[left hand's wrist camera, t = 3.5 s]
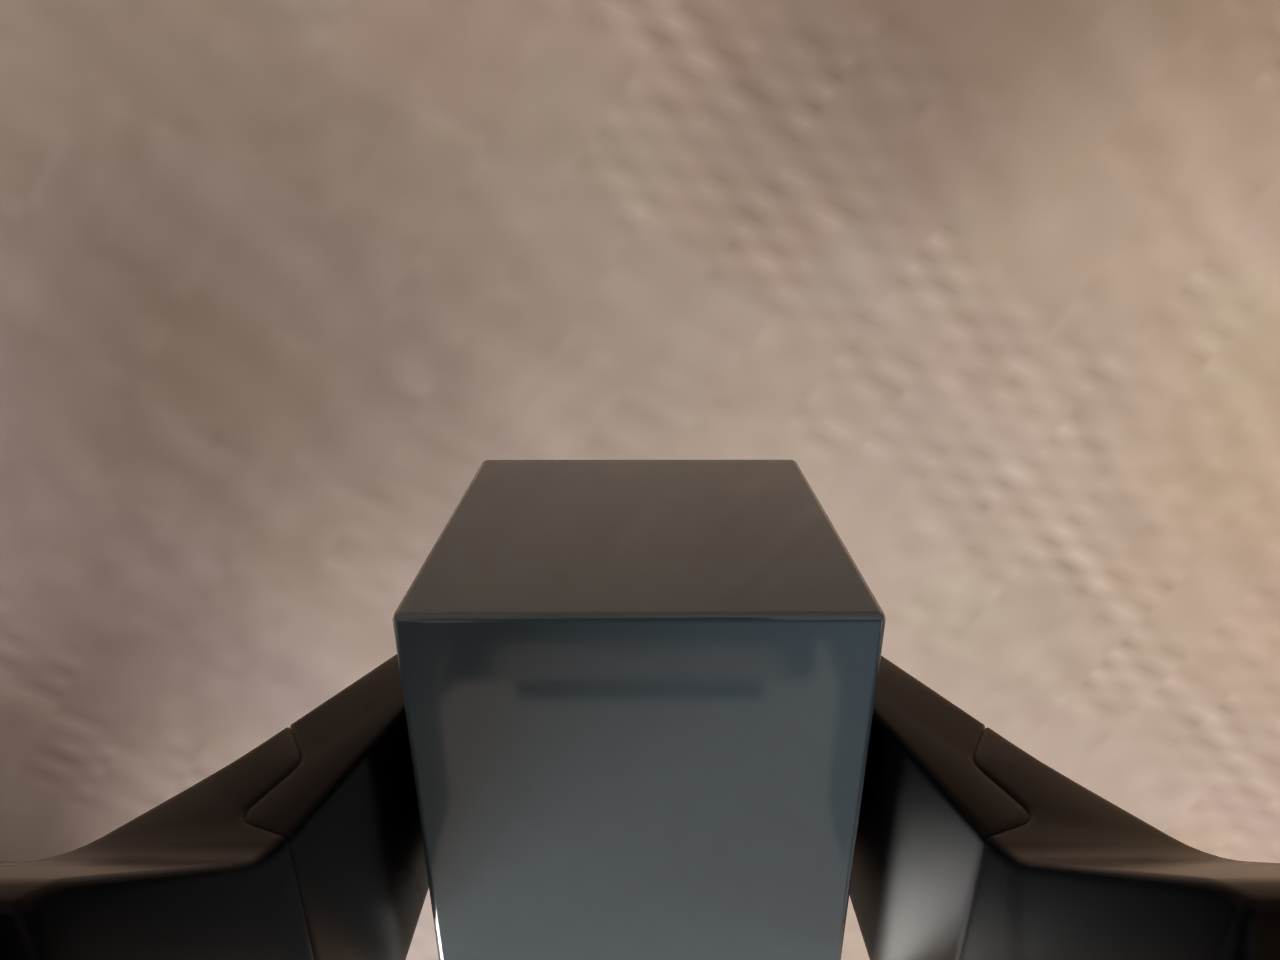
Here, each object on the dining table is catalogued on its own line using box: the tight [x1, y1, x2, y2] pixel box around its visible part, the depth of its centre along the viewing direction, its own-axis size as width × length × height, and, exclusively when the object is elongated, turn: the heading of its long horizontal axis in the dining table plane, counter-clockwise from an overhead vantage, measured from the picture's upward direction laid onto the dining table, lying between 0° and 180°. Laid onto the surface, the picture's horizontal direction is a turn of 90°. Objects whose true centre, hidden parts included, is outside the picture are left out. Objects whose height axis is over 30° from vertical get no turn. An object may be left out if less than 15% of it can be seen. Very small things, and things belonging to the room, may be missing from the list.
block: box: [393, 460, 886, 960], centre depth 10 cm, size 5×5×4 cm
